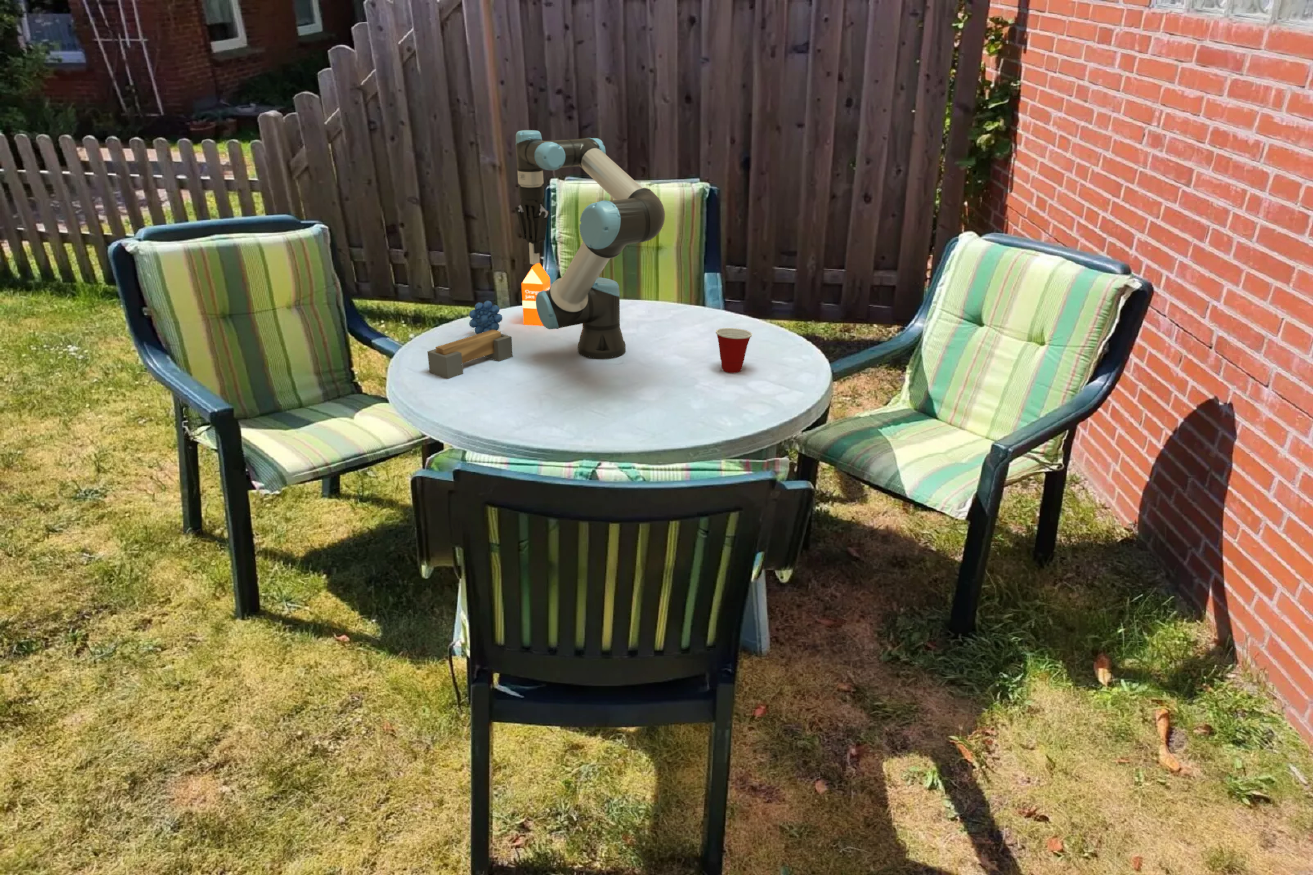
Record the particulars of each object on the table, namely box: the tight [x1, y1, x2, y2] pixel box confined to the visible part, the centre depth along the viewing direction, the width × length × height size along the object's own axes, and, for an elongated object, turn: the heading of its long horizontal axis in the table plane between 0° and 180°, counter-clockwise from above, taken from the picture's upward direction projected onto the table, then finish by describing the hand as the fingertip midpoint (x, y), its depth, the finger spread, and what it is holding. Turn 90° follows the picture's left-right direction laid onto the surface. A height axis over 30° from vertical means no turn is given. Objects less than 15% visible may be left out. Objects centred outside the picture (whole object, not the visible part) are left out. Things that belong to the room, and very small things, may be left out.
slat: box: [435, 330, 502, 364], centre depth 269 cm, size 4×22×6 cm, turn 141°
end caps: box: [427, 333, 514, 380], centre depth 270 cm, size 8×25×6 cm, turn 141°
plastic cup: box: [715, 327, 753, 374], centre depth 266 cm, size 11×11×12 cm
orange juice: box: [521, 263, 551, 327], centre depth 307 cm, size 8×9×20 cm
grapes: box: [468, 300, 503, 335], centre depth 295 cm, size 12×7×12 cm, turn 78°
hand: (534, 263), depth 278 cm, fingers closed
